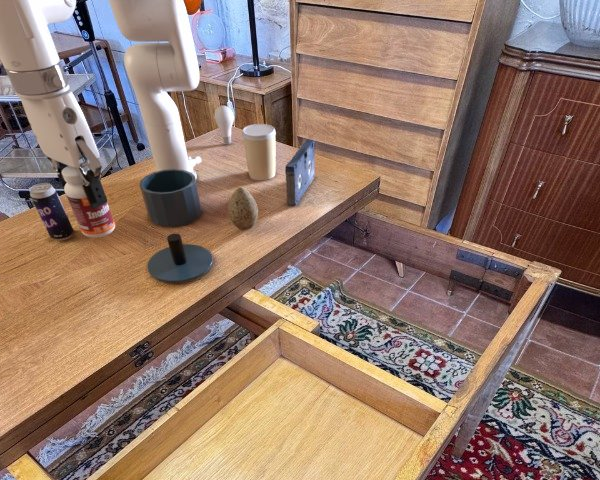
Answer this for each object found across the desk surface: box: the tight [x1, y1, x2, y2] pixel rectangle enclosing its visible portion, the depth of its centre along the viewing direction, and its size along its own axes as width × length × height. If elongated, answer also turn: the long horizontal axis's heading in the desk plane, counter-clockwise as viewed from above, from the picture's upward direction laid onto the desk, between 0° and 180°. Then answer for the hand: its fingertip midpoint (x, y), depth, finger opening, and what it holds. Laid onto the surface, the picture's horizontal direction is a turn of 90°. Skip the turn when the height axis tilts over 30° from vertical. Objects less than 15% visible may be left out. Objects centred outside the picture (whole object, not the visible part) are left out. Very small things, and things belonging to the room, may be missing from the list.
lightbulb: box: [213, 105, 235, 146], centre depth 141 cm, size 6×6×11 cm
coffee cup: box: [241, 123, 277, 181], centre depth 126 cm, size 9×9×12 cm
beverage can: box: [28, 182, 74, 242], centre depth 105 cm, size 6×6×12 cm
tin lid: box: [147, 233, 214, 284], centre depth 98 cm, size 15×15×7 cm
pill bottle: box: [62, 166, 116, 238], centre depth 79 cm, size 6×6×11 cm
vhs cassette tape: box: [284, 139, 316, 207], centre depth 119 cm, size 18×3×10 cm, turn 161°
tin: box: [139, 169, 202, 228], centre depth 113 cm, size 14×14×8 cm
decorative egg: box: [227, 187, 259, 231], centre depth 107 cm, size 7×7×10 cm
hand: (86, 198), depth 78 cm, fingers closed on pill bottle, 6 cm apart
